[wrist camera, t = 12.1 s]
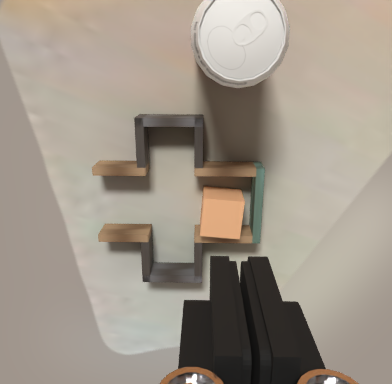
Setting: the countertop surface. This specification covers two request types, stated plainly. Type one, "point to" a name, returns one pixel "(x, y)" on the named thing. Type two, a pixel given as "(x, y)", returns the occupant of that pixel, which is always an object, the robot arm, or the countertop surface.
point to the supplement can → (239, 40)
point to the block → (221, 212)
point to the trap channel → (202, 168)
